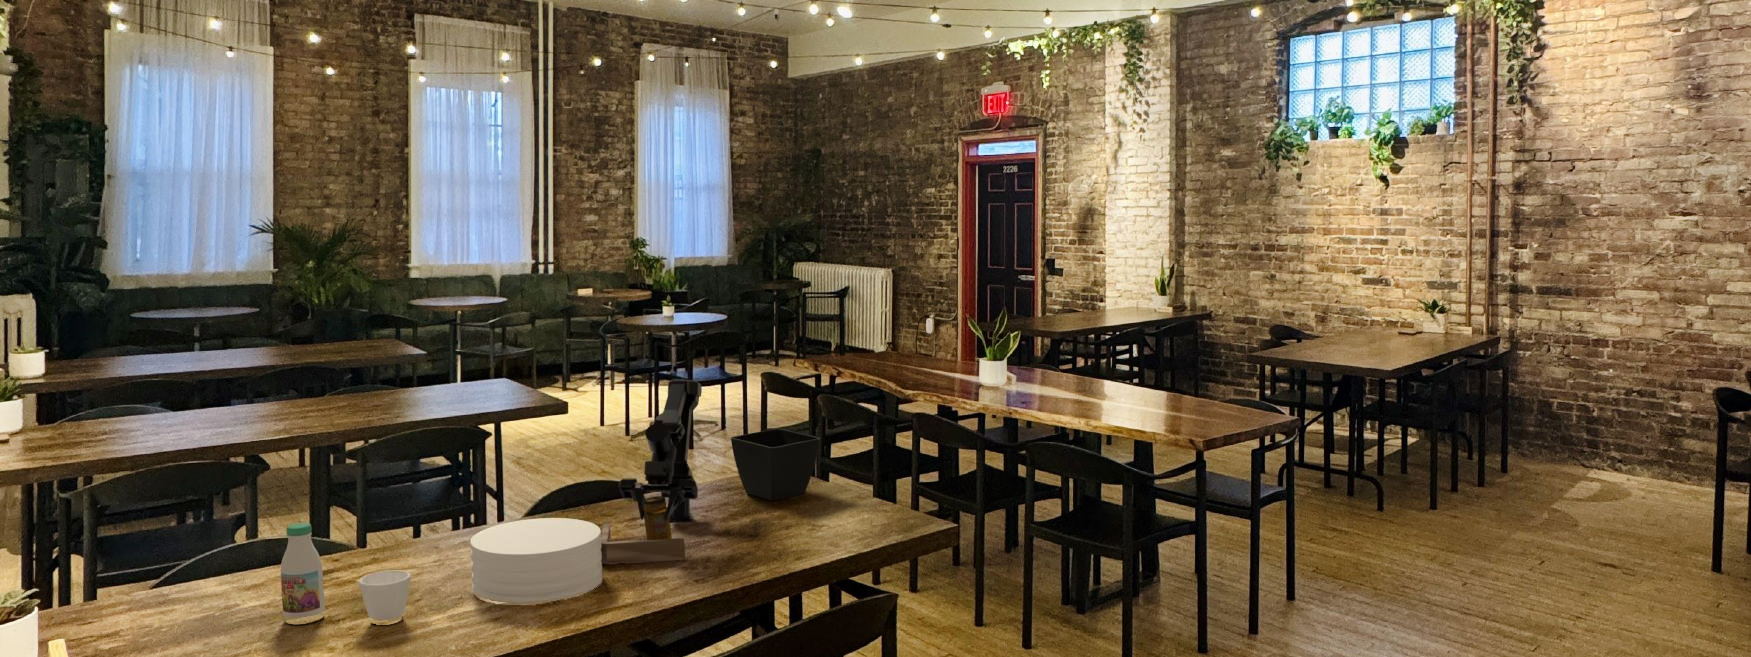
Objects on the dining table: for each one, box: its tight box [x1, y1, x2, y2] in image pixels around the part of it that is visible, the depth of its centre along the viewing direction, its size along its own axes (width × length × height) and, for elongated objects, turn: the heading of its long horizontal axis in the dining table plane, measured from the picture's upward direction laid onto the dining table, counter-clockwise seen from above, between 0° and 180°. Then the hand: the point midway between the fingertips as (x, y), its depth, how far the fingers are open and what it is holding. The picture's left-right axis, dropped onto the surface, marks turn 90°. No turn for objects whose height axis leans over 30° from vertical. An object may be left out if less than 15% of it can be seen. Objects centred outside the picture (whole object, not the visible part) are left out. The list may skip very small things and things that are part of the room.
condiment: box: [643, 495, 673, 540], centre depth 288 cm, size 7×8×12 cm
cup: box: [358, 569, 412, 621], centre depth 242 cm, size 10×10×9 cm
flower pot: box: [730, 428, 821, 502], centre depth 342 cm, size 19×19×17 cm
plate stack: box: [469, 517, 603, 604], centre depth 264 cm, size 28×28×12 cm
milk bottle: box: [280, 522, 326, 618], centre depth 242 cm, size 8×8×20 cm
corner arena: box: [600, 523, 685, 565], centre depth 288 cm, size 18×20×5 cm
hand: (653, 519), depth 287 cm, fingers closed on condiment, 6 cm apart
